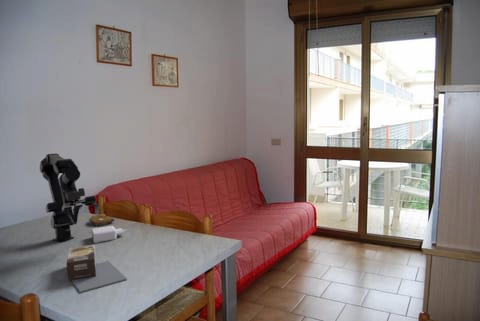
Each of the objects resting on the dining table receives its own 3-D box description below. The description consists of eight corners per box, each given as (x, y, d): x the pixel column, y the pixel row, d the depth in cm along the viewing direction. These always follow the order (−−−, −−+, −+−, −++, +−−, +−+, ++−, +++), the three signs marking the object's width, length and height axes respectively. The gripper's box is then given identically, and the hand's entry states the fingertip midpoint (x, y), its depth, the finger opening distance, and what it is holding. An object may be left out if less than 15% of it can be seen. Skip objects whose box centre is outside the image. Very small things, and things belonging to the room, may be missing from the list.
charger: (129, 237, 172) (94, 243, 165) (125, 232, 180) (91, 238, 173) (128, 227, 171) (93, 233, 164) (124, 223, 179) (91, 228, 172)
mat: (65, 272, 134) (65, 271, 134) (108, 262, 143) (108, 260, 143) (80, 293, 118) (80, 291, 118) (126, 279, 127) (126, 278, 127)
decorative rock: (84, 223, 199) (97, 230, 188) (83, 216, 198) (96, 222, 188) (104, 217, 207) (118, 223, 196) (103, 210, 206) (117, 216, 196)
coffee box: (94, 244, 143) (95, 258, 128) (96, 260, 144) (97, 276, 129) (68, 247, 140) (66, 263, 125) (69, 264, 140) (67, 281, 126)
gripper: (45, 186, 145) (53, 225, 142) (95, 179, 156) (103, 215, 152) (42, 193, 153) (49, 230, 150) (89, 186, 164) (97, 220, 161)
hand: (75, 224), depth 153 cm, fingers closed
